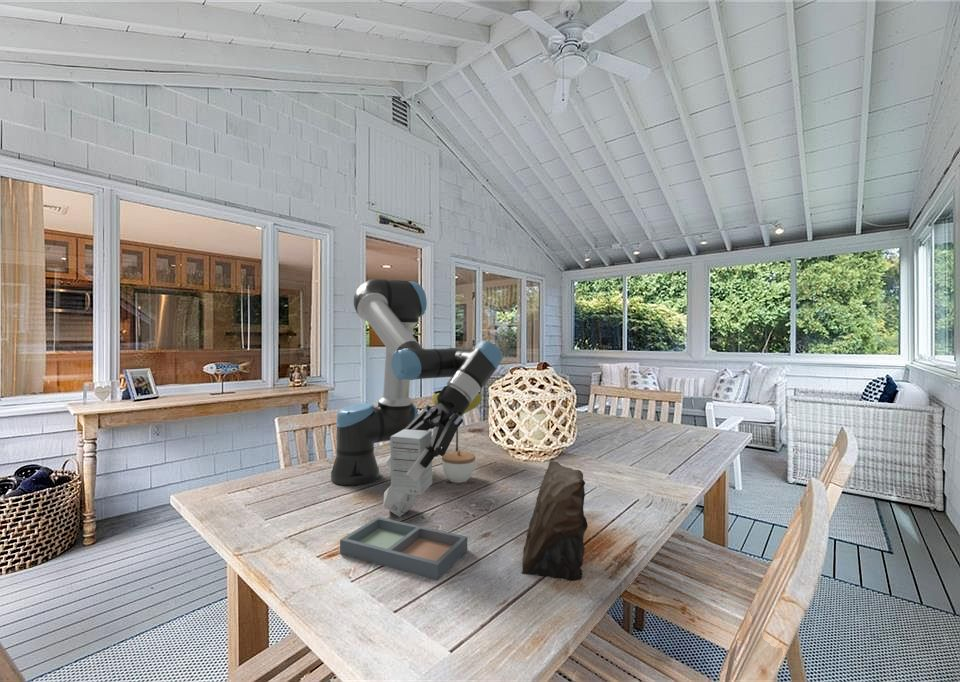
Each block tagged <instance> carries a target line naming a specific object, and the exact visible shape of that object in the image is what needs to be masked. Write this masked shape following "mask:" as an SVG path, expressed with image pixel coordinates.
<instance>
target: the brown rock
mask: <svg viewBox="0 0 960 682" xmlns="http://www.w3.org/2000/svg"><path fill="white" fill-rule="evenodd" d="M585 485H586V481H585V480H584V473H583V472H582V470H580V469H573V468H572V467H566V466H564V465H561V463H559V462H558V461H554V460H550V461H549V462H548V466H547V469H546V471H545V474H544V476H543V478H542V482H541V484H540V487H539V490H538V494H537V497H536V502H535V507H534V510H533V513H532V516H531V518H530V520H529V525H528V528H527V534H526V539H525V543H524V547H523V552H522V553H523V556H522V563H521V565H522V567H521V568H522V571H521V574H523V575H530V576H537V577H544V578H545V577H546V578H552V579H562V580H564V581H569V582H571V581H573V582H574V581H580V580H582V579H583V575H584V574H583V569H582V567H583V565H584V555H585V550H586V549H585V543H584V535H585V534H586V530H588V527H589V526H588V522H587V518H586V516H585V511H584V505H585V497H586V492H585Z"/></svg>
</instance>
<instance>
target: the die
mask: <svg viewBox="0 0 960 682" xmlns="http://www.w3.org/2000/svg"><path fill="white" fill-rule="evenodd" d="M416 504H417V503H416V495H414V494H405V493H396V492H391V485H390V486H389V487H388V488H387V489H386V490H385V491H384V492H383V507H384V508H385V509H387V510H388V511H389V512H391V513H392V514H394V515H395V516H396V517H398V518H401V517H402V516H403V515H405V514H406V513H407V512H409V511H410V510H411V509H412V508H413V507H414V506H415V505H416Z"/></svg>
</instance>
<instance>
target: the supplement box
mask: <svg viewBox="0 0 960 682" xmlns="http://www.w3.org/2000/svg"><path fill="white" fill-rule="evenodd" d="M432 436H433V432H432V430H428V431H426V430H408V429H403V430H402V431H400V432H398V433H396V434H394V435H393V436H391V437H390V442H389V443H390V445H389V446H390V447H389V448H390V454H391V467H390V486H391V492H396V493H405V494H414V495H415V496H421V495H422V494H424V493H425V491H427V489H429V488H430V487H431V485H432V484H433V460H432V461H431V462H430V464H429V465H428V466H427V467H426V468H425V470H424V471H423V472H422V474H421V475H420V476H419V478H418V479H417V481H416V482H415V481H414V480H413V479H411V478H410V477H409V476H408V475H407V474H406V473H407V472H408V470H409V469H410V468H411V466H412V465H413V464H414V462H415V461H416V460H417V458H418V457H419V456H420V454H421V453H422V452H423V450H424V449H426V450H427V451H429V450H428V449H427V448H426V447H427V446H429V444H430V441H431V439H432Z"/></svg>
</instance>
